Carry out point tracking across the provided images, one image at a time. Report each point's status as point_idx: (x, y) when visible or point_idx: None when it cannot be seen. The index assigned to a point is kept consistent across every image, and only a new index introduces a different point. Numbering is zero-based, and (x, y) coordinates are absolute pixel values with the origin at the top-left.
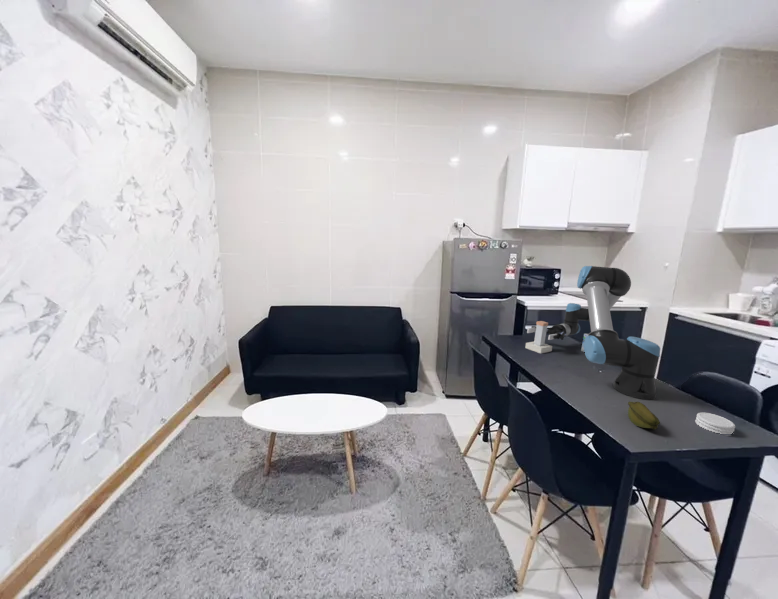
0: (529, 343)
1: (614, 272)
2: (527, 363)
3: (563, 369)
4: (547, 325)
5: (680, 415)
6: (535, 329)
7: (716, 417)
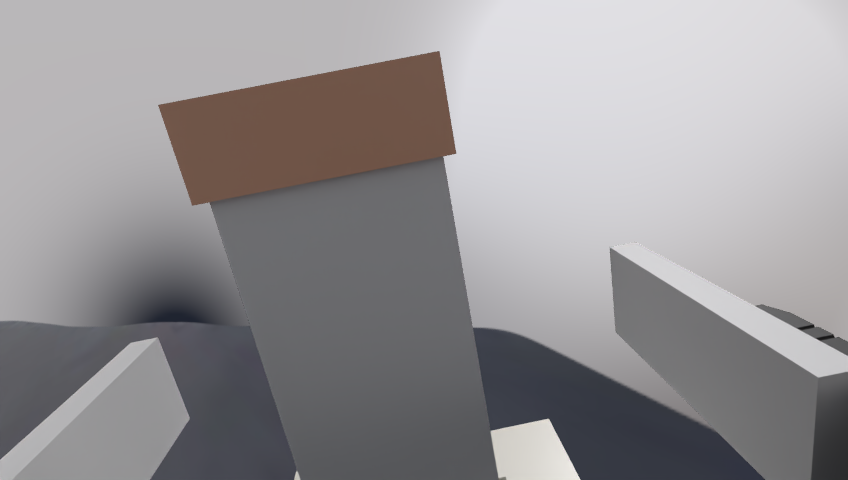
0: (516, 445)
1: None
2: None
3: None
4: (201, 196)
5: None
6: (815, 438)
7: None
